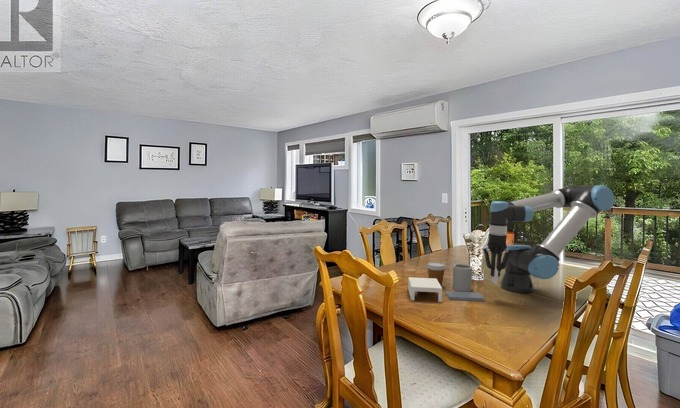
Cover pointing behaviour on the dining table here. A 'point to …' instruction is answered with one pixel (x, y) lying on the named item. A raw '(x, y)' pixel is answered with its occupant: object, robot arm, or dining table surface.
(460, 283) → the cup
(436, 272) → the disposable coffee cup
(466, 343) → the dining table surface
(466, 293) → the tile
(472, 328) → the dining table surface
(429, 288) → the shelf
